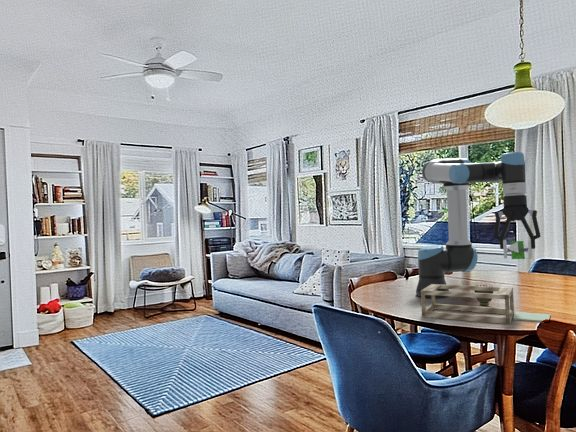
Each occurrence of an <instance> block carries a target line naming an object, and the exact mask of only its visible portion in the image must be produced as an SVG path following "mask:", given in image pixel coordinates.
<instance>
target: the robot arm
mask: <svg viewBox="0 0 576 432" xmlns="http://www.w3.org/2000/svg"><path fill="white" fill-rule="evenodd" d="M421 176H422V178H423V179H424V180H425V181H427V182H428V183H431V184H443V185H442V187H443V189H445V191H446V199H447V201H446V202H447V223H448V224H447V227H448V229H447V230H448V240H447V242H446V243H445V247H444V245H440V244H439V245H437V244H435V245H429V246H428V245H427V246H424V247H421V248H420V249H418V250H417V262H418V263H417V265H418V266H417V267H418V281H417V284H416V289H415V296H416V295H418V296H417V297H419V296H421V290H423V289H424V288H426V287H428V286H429V285H431V284H440V285H448V284H447V281H446V279H445V273H465V272H471V271H473V270H474V269H475V268H476V266H477V263H478V257H479V255H478V252H477V249H476V247H475V246H473V244H472V242H471V241H470V240H469V229H468V208H467V207H468V205H467V189H468V188H469V187H470V184H472V183H500V182H502V195H503V197H502V201H503V209H502V210H501V211H495V212H494V216H495V223H494V233H493V237H494V239H496V240H498V241H499V248H500V250H503V259H508V252H507V248H508V246H507V244H508V243H507V239H505V237H506V235H507V232H508V230H509V227H510V224H511V222H513V221H514V222H515V221H518V222H519V221H521V223H522V225H523V227H524V229H525V231H526V232H527V234H528V237H529V238H530V239H528V241H527V242H528V257H529V260H530V259H533V250H535V249H536V240H537V239H540V237H542V236H541V231H540V227H539V222H538V218H537V216H538V215H537V214H538V210H537V209H535V210H533V209H529V208H528V203H527V201H528V200H527V199H528V198H527V197H528V196H527V195H525V194H527V183H526V179H527V178H526V162H525V155H524V153H523V152H521V151H513V152H506V153H502V154H501V156H500V161H495V162H494V161H493V162H473V163H472V162H471V160H469V158H465V157H464V158H463V157H456V158H454V157H451V158H435V159H431V160H429V161H427V162H425V164H424V165H423V166H422V168H421ZM528 214H529V215H530V216H531V218H532V224H533V228H534V233H535V235H534V233H533V230H532V229H531V227H530V225H529V223H528V222H527V219H526V216H527V215H528ZM502 216H504V217H505V218H506V220H505V224H504V226H503V229H502V231H501V234H500V227H501V218H502ZM436 291H450V289H437V290H436ZM425 297H429V298H428V299H431V295H425ZM441 297H443V298H447V297H449V296H438V295H435V299H442V298H441Z"/></svg>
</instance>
